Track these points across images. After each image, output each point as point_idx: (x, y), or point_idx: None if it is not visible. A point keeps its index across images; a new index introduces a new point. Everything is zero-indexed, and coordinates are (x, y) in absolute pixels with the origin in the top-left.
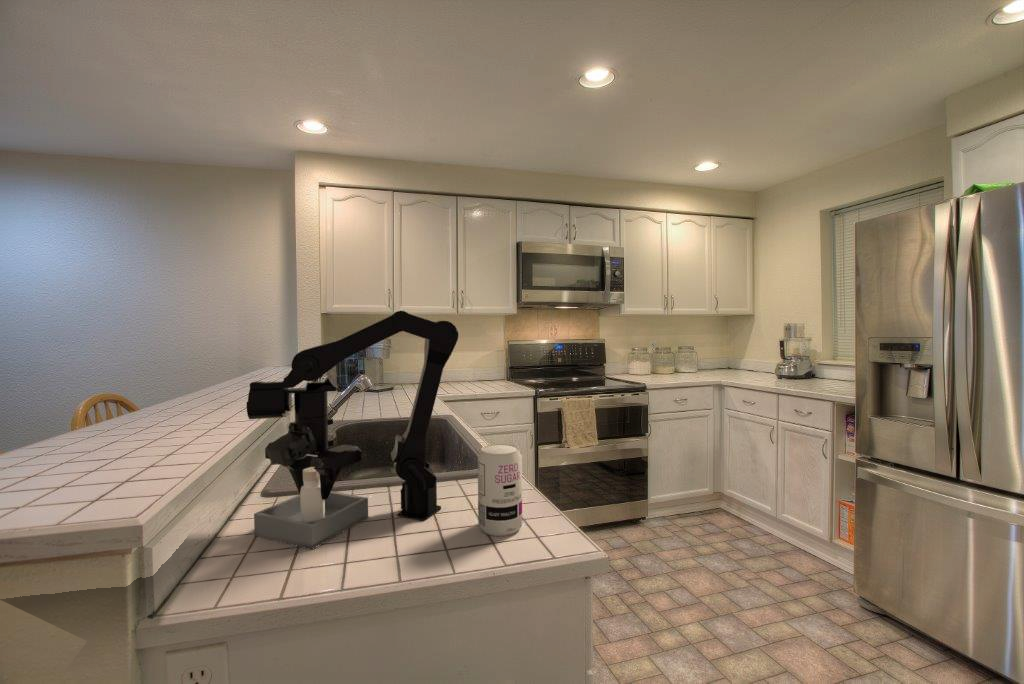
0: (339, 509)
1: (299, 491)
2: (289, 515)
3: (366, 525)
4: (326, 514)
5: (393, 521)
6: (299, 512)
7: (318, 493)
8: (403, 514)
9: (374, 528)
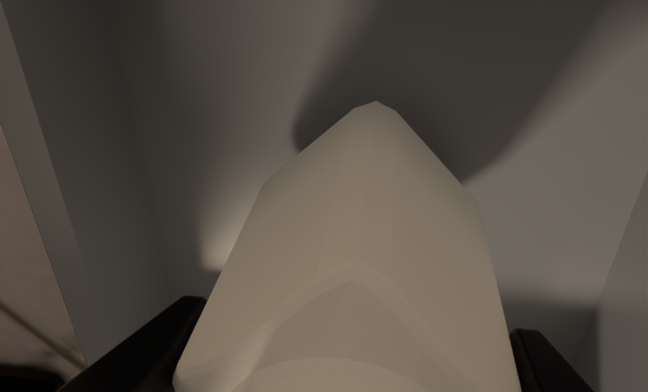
0: None
1: (549, 361)
2: (639, 208)
3: None
4: None
5: (27, 326)
6: (605, 278)
7: (198, 333)
8: (15, 377)
9: (29, 247)
